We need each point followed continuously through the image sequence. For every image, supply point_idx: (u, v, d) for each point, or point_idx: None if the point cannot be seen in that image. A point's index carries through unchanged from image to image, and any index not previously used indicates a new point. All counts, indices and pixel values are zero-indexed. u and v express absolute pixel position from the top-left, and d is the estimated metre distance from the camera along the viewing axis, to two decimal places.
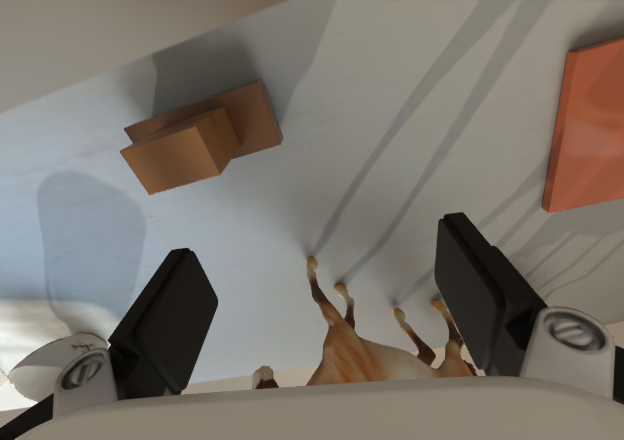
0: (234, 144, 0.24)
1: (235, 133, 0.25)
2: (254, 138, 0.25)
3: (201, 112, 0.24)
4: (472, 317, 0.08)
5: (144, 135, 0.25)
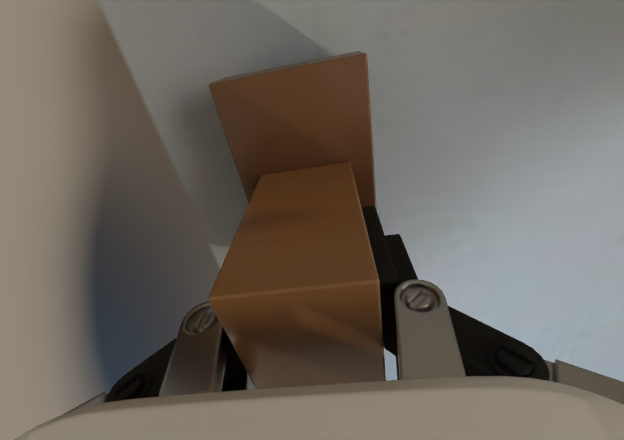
0: (335, 179, 0.10)
1: (318, 166, 0.11)
2: (337, 125, 0.10)
3: None
4: None
5: None
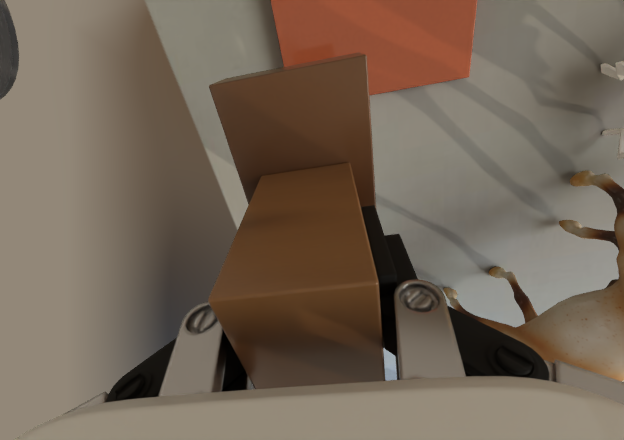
0: (335, 180, 0.10)
1: (318, 168, 0.11)
2: (337, 126, 0.10)
3: None
4: None
5: None
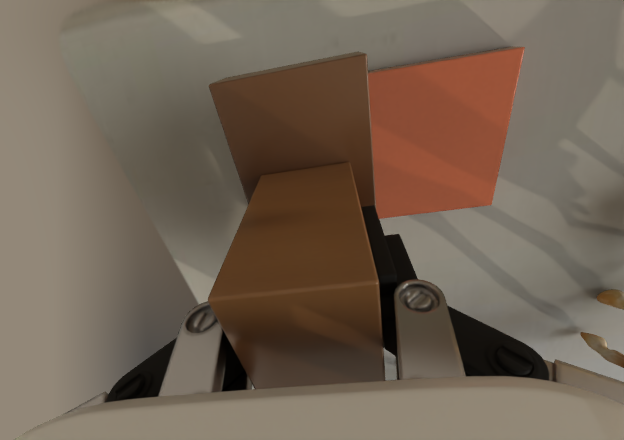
0: (335, 179, 0.10)
1: (318, 167, 0.11)
2: (337, 126, 0.10)
3: None
4: None
5: None
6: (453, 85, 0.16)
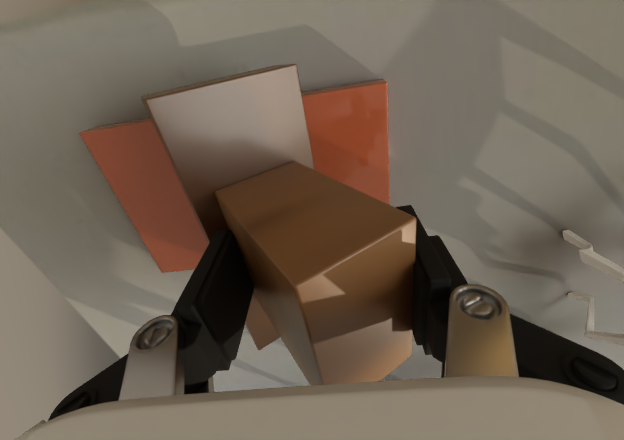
0: (299, 174, 0.11)
1: (270, 170, 0.11)
2: (281, 129, 0.11)
3: None
4: None
5: (269, 323, 0.15)
6: (315, 123, 0.14)
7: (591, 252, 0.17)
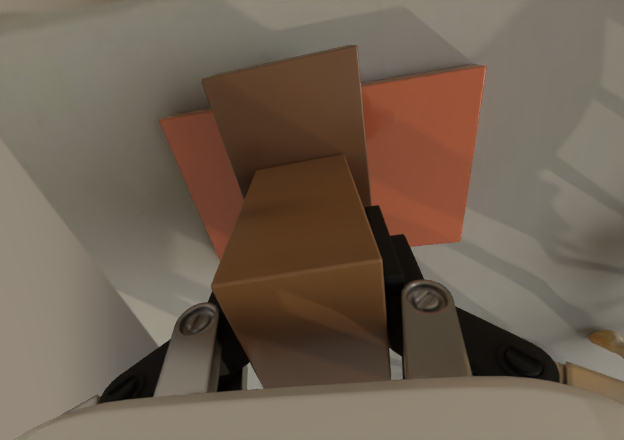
0: (330, 170, 0.10)
1: (313, 160, 0.11)
2: (331, 118, 0.10)
3: None
4: None
5: None
6: (404, 110, 0.14)
7: None
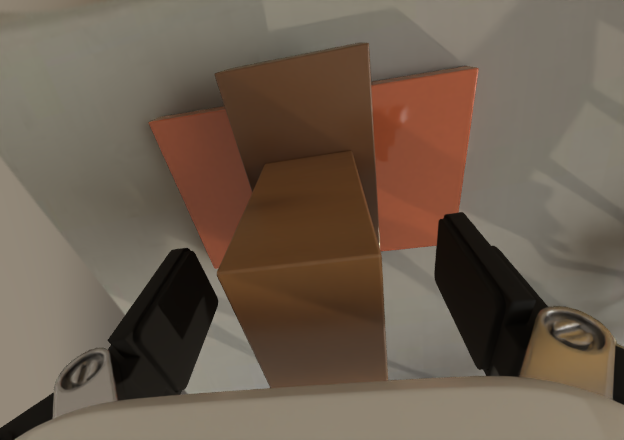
0: (337, 166, 0.10)
1: (321, 155, 0.11)
2: (340, 114, 0.10)
3: None
4: (472, 317, 0.08)
5: None
6: (396, 112, 0.14)
7: None
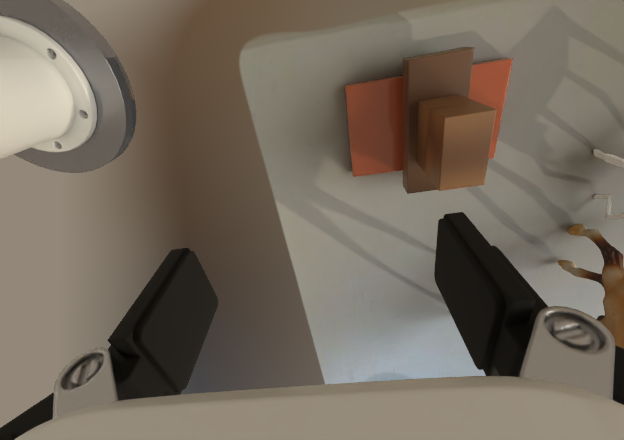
0: (458, 98, 0.24)
1: (445, 96, 0.26)
2: (457, 77, 0.25)
3: (416, 124, 0.27)
4: (472, 317, 0.08)
5: (417, 180, 0.30)
6: (471, 80, 0.28)
7: (611, 155, 0.30)
